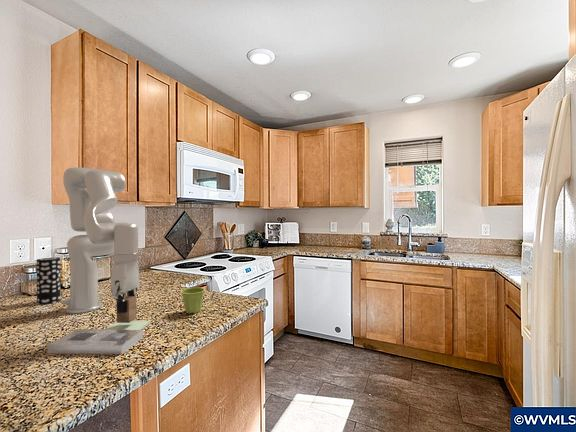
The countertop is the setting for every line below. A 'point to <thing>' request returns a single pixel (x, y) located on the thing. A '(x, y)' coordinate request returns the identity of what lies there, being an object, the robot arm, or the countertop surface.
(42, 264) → the spotted tube
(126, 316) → the walnut block
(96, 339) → the socket plate
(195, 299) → the plant pot
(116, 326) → the sage pad
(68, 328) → the countertop surface
